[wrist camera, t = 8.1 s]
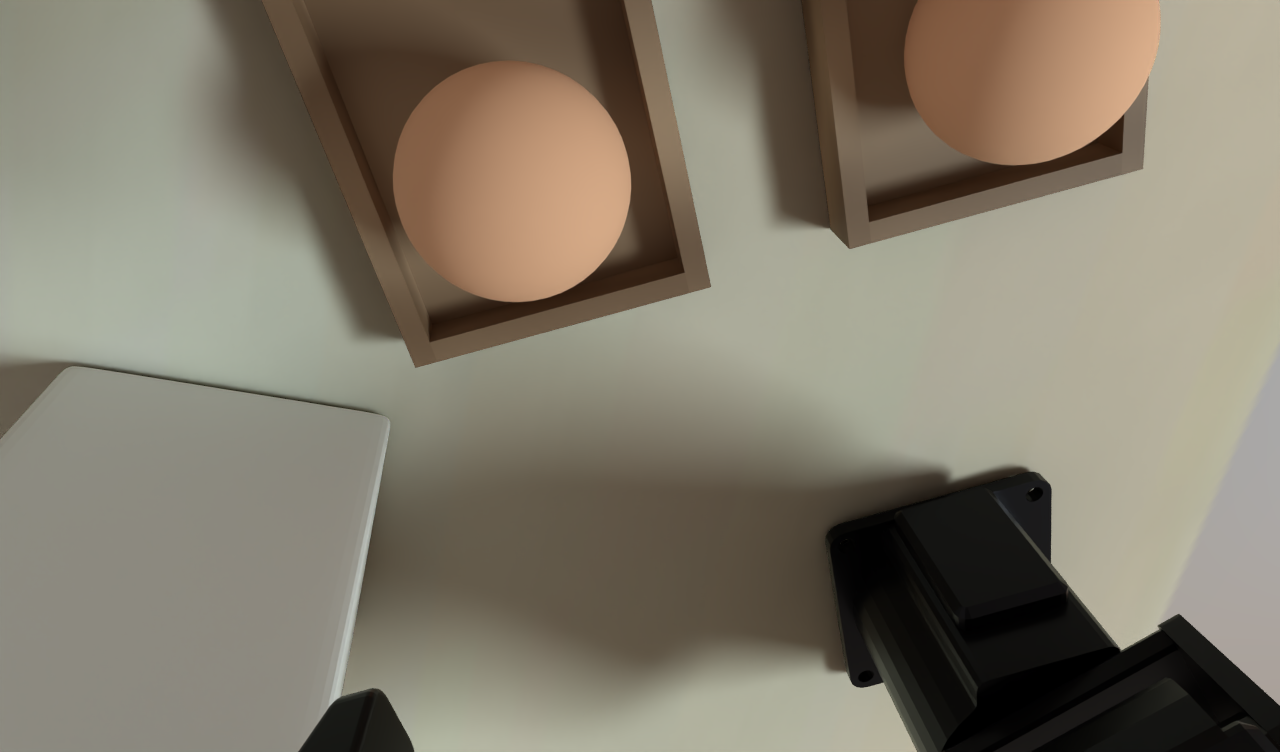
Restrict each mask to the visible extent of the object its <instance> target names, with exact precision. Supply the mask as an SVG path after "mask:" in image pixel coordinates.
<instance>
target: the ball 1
mask: <svg viewBox="0 0 1280 752" xmlns="http://www.w3.org/2000/svg"><path fill="white" fill-rule="evenodd" d="M393 191H394V197H395V203H396V207H397V210H398V214H399V217H400V220H401V223H402V225H403V228H404V230H405V232H406V234H407V236H408V238H409V240H410V241H411V243H412V245H413V246H414V248H415V249H416V251H417V252H418V253H419V254H420V256H421V257H422V258H423V259H424V260H425V262H426V263H427V264H428V265H429V266H431V267H432V268H433V269H434V270H435V271H436V272H437V273H438V274H439V275H440V276H442V277H443V278H445V279H446V280H447V281H449V282H450V283H452V284H453V285H455V286H457V287H459V288H460V289H462V290H464V291H467V292H469V293H472V294H474V295H476V296H480V297H483V298H487V299H491V300H497V301H504V302H526V301H535V300H539V299H544V298H548V297H551V296H554V295H557V294H560V293H562V292H564V291H566V290H568V289H570V288H572V287H574V286H575V285H577V284H578V283H580V282H581V281H583V280H584V279H585V278H587V277H588V276H589V275H590V274H591V273H593V272H594V271H595V270H596V269H597V268H598V266H599V265H600V264H601V263H602V262H603V261H604V260H605V259H606V258H607V256H608V255H609V253H610V252H611V251H612V249H613V248H614V246H615V244H616V242H617V240H618V238H619V237H620V235H621V232H622V229H623V227H624V224H625V221H626V217H627V213H628V209H629V204H630V196H631V172H630V167H629V161H628V156H627V152H626V149H625V146H624V143H623V139H622V137H621V135H620V133H619V131H618V129H617V126H616V125H615V123H614V121H613V120H612V118H611V117H610V115H609V114H608V112H607V111H606V110H605V109H604V107H603V106H602V105H601V104H600V103H599V101H598V100H597V99H596V98H595V97H594V96H593V95H592V94H591V93H590V92H589V91H587V90H586V89H585V88H584V87H583V86H581V85H580V84H579V83H577V82H576V81H574V80H573V79H571V78H570V77H568V76H566V75H564V74H562V73H560V72H558V71H556V70H554V69H551V68H548V67H545V66H542V65H538V64H534V63H529V62H523V61H510V60H509V61H493V62H488V63H483V64H478V65H475V66H472V67H469V68H466V69H463V70H461V71H459V72H457V73H455V74H453V75H451V76H449V77H448V78H446V79H445V80H444V81H442V82H441V83H439V84H438V85H436V86H435V87H434V88H433V89H432V90H431V91H430V92H429V93H428V94H427V95H426V96H425V97H424V98H423V99H422V100H421V102H420V103H419V104H418V105H417V107H416V108H415V109H414V110H413V112H412V113H411V115H410V117H409V119H408V120H407V122H406V124H405V125H404V128H403V130H402V133H401V135H400V138H399V141H398V145H397V149H396V153H395V158H394V168H393Z"/></svg>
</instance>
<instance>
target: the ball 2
mask: <svg viewBox="0 0 1280 752" xmlns="http://www.w3.org/2000/svg"><path fill="white" fill-rule="evenodd" d="M1159 38H1160V6H1159V0H918V1H917V3H916V5H915V7H914V9H913V12H912V15H911V18H910V21H909V25H908V29H907V33H906V38H905V47H904V68H905V76H906V81H907V85H908V89H909V92H910V96H911V98H912V101H913V103H914V105H915V108H916V110H917V111H918V113H919V114H920V116H921V117H922V119H923V121H924V122H925V123H926V125H927V126H928V127H929V128H930V129H931V131H932V132H933V133H934V134H935V135H936V136H937V137H939V138H940V139H941V140H942V141H943V142H945V143H946V144H947V145H949V146H950V147H951V148H953V149H955V150H957V151H958V152H960V153H962V154H964V155H967V156H969V157H972V158H975V159H977V160H980V161H984V162H989V163H993V164H1001V165H1026V164H1036V163H1040V162H1045V161H1050V160H1053V159H1056V158H1058V157H1061V156H1064V155H1067V154H1069V153H1071V152H1074V151H1076V150H1078V149H1080V148H1082V147H1084V146H1085V145H1087V144H1089V143H1090V142H1092V141H1093V140H1095V139H1096V138H1097V137H1099V136H1100V135H1101V134H1103V133H1104V132H1105V131H1107V130H1108V129H1109V128H1110V127H1111V126H1112V125H1113V124H1115V123H1116V122H1117V121H1118V120H1119V119H1120V118H1121V117H1122V115H1123V114H1124V113H1125V112H1126V111H1127V110H1128V109H1129V107H1130V106H1131V105H1132V103H1133V102H1134V101H1135V99H1136V98H1137V96H1138V95H1139V93H1140V91H1141V90H1142V88H1143V86H1144V85H1145V83H1146V81H1147V78H1148V76H1149V74H1150V72H1151V69H1152V67H1153V64H1154V61H1155V58H1156V54H1157V50H1158V46H1159Z"/></svg>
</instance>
